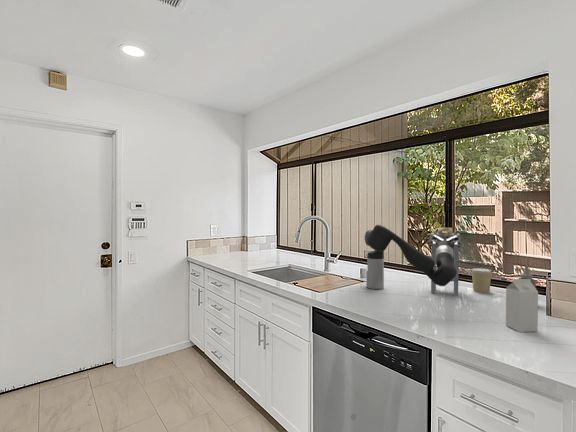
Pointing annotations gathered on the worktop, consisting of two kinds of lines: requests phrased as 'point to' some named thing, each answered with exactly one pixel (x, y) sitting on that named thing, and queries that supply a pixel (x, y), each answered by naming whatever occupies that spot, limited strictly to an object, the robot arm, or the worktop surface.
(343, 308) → the worktop surface
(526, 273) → the squeeze bottle
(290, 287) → the worktop surface
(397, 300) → the worktop surface
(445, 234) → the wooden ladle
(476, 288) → the coffee cup
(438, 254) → the robot arm
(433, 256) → the grey stand
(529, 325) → the milk carton
